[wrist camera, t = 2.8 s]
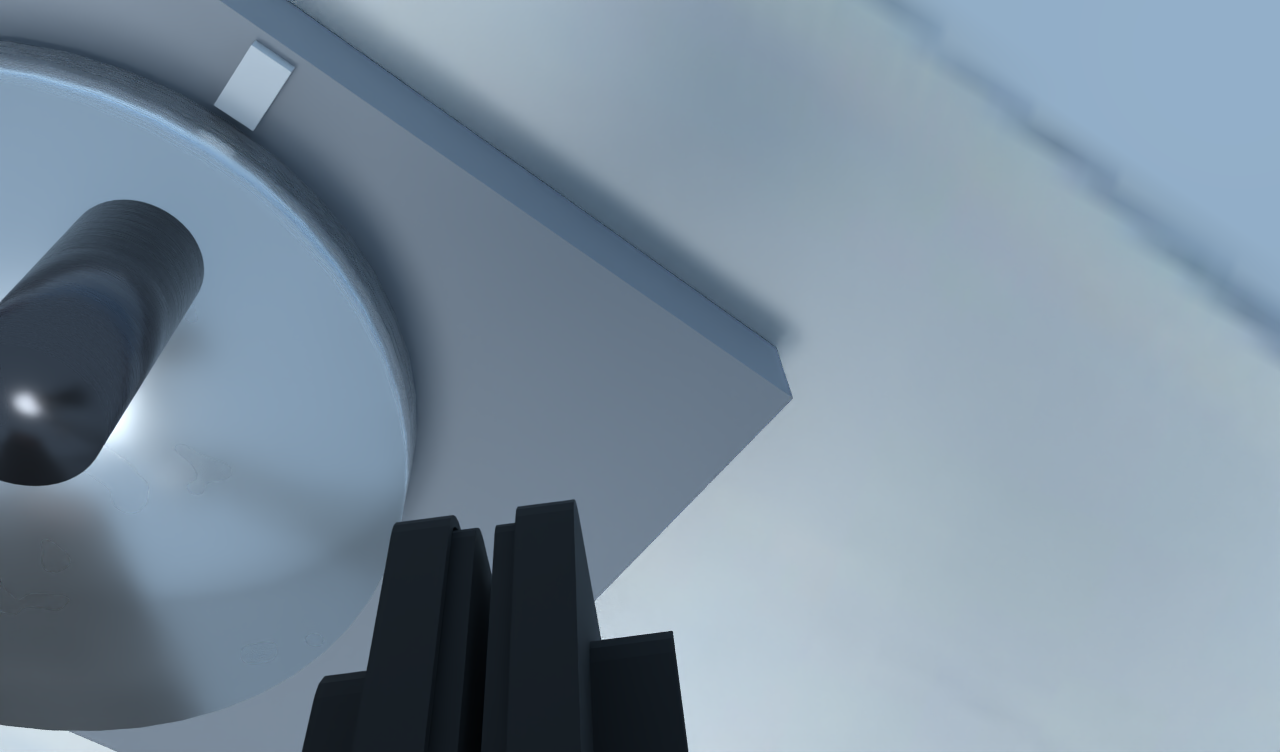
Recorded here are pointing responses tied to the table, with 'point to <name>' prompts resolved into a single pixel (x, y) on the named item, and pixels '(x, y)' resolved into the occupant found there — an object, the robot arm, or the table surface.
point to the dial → (178, 406)
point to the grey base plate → (454, 308)
